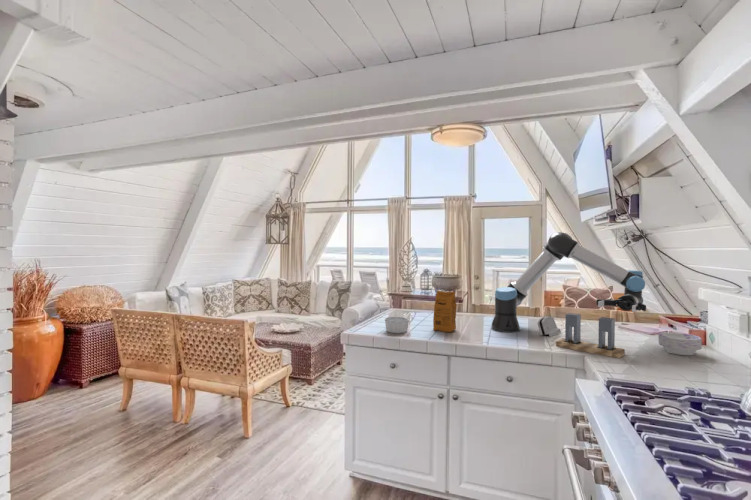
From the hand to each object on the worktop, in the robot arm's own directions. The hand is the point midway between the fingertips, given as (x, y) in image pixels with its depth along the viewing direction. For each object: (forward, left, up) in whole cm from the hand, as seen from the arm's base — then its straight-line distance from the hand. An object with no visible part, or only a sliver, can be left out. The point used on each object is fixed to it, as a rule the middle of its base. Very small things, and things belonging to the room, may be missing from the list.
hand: (615, 306), depth 174 cm
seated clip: (-15, -10, -20) cm, 27 cm away
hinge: (-35, +11, -20) cm, 42 cm away
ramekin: (-93, -48, -20) cm, 106 cm away
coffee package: (-77, -26, -20) cm, 84 cm away
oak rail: (-8, -10, -20) cm, 24 cm away
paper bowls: (+21, +16, -20) cm, 33 cm away
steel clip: (-1, -10, -20) cm, 22 cm away
